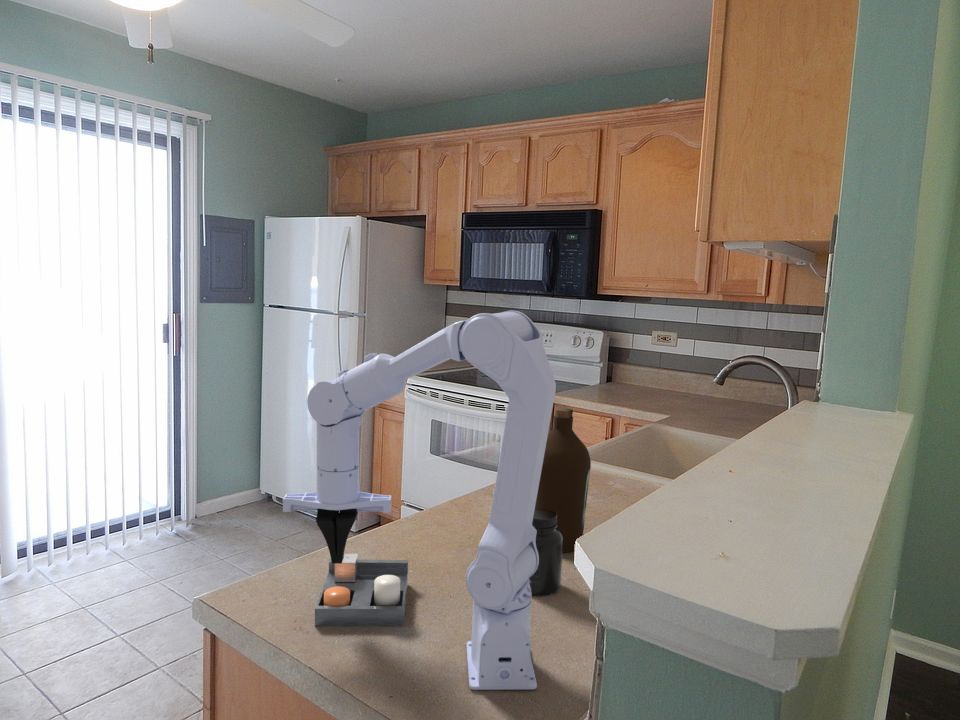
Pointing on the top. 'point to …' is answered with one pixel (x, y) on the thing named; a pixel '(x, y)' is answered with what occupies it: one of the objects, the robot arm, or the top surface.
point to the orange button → (337, 596)
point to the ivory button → (387, 590)
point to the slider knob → (347, 569)
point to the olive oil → (565, 478)
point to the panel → (364, 597)
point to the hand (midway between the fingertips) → (337, 560)
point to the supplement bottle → (547, 554)
